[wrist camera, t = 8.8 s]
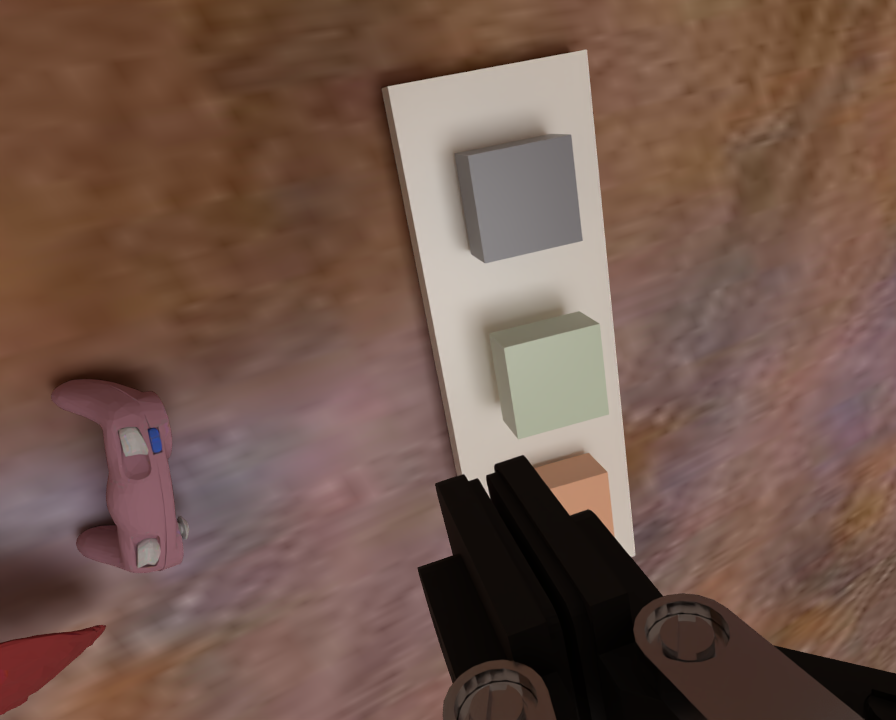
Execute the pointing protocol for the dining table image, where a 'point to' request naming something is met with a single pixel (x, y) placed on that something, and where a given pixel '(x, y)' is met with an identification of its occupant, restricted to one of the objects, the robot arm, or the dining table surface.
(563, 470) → the terracotta key
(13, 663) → the decorative bird sculpture
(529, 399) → the sage key
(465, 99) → the keypad base
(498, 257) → the charcoal key
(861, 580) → the dining table surface
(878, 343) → the dining table surface
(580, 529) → the robot arm
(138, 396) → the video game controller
